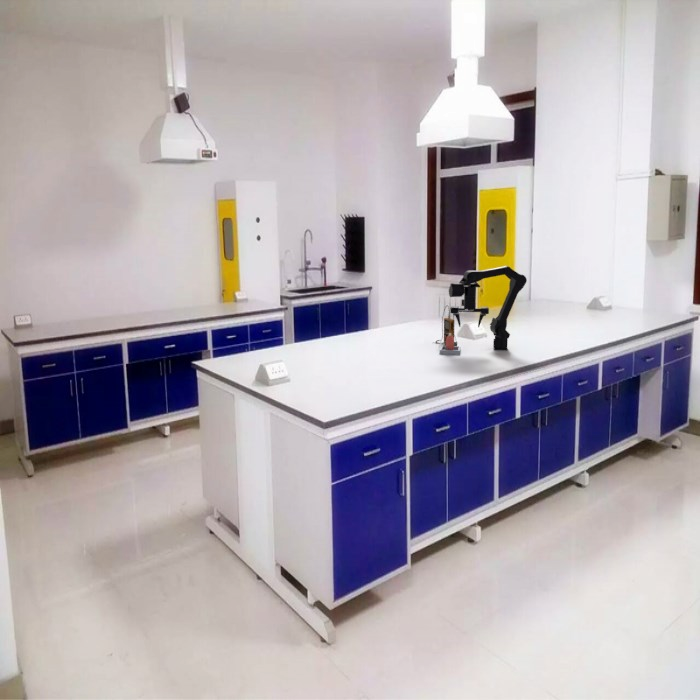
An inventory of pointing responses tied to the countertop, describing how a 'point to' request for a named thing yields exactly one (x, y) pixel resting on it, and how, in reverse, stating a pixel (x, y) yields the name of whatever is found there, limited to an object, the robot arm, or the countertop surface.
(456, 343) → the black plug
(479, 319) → the robot arm
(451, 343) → the red rounded cylinder
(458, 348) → the tray
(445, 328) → the multimeter
